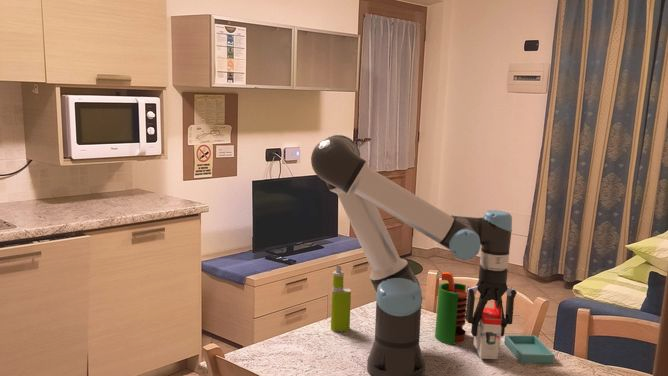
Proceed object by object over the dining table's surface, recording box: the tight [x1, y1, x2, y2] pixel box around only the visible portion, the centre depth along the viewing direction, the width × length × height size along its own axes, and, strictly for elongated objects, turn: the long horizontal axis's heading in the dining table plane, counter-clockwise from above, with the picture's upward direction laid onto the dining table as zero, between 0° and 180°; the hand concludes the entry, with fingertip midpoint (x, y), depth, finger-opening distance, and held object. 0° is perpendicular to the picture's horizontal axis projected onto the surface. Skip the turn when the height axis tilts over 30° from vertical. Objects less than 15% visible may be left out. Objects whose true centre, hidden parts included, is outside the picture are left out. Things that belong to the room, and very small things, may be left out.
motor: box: [434, 271, 468, 346], centre depth 173 cm, size 10×9×20 cm
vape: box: [330, 265, 352, 332], centre depth 177 cm, size 4×6×20 cm, turn 92°
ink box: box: [476, 300, 502, 360], centre depth 162 cm, size 8×5×15 cm, turn 178°
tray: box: [504, 334, 555, 365], centre depth 165 cm, size 9×13×2 cm
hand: (486, 346), depth 162 cm, fingers closed on ink box, 5 cm apart
